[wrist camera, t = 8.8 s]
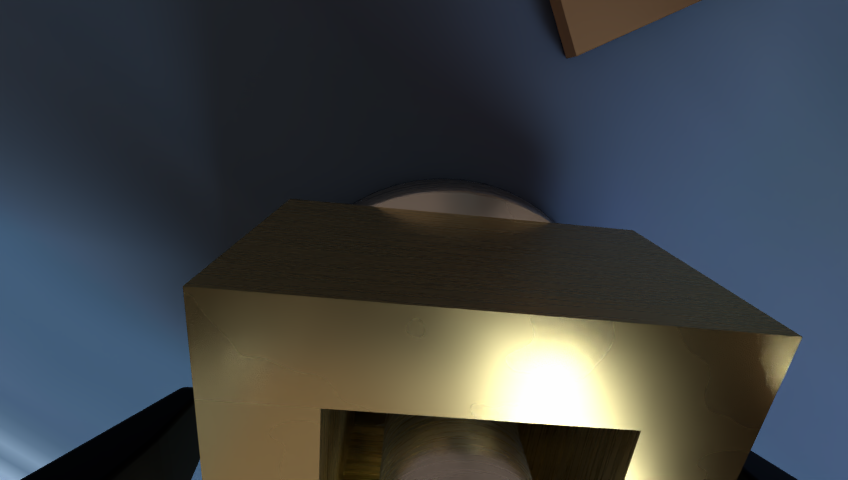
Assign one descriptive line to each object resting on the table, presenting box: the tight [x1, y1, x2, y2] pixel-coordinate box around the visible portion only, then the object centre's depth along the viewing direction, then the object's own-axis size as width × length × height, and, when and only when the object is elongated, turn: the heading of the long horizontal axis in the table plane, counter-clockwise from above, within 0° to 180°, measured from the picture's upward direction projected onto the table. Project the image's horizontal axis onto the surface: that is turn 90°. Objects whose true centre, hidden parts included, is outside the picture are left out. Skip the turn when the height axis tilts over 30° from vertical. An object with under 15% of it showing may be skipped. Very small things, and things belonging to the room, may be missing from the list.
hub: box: [352, 179, 554, 480], centre depth 8 cm, size 8×8×6 cm
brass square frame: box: [183, 199, 802, 480], centre depth 8 cm, size 7×7×4 cm
